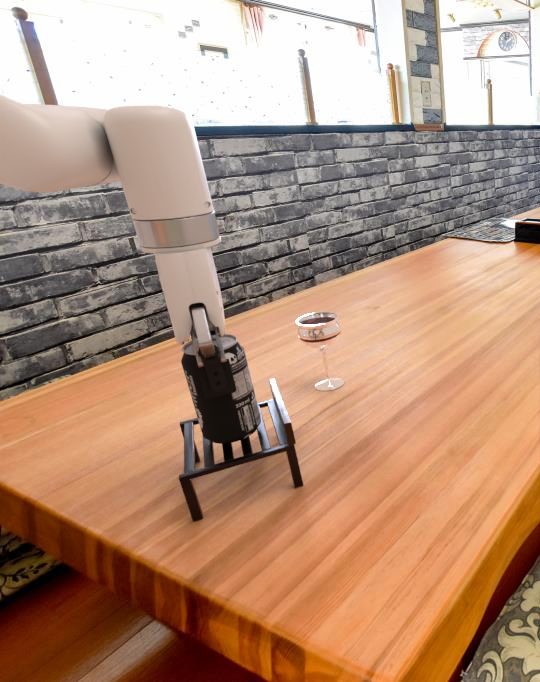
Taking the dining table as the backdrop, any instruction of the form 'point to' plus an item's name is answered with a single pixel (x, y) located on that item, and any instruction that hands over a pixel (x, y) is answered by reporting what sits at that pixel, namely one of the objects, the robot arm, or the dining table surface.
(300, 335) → the wineglass
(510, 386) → the dining table surface
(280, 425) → the rack
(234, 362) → the beverage can
